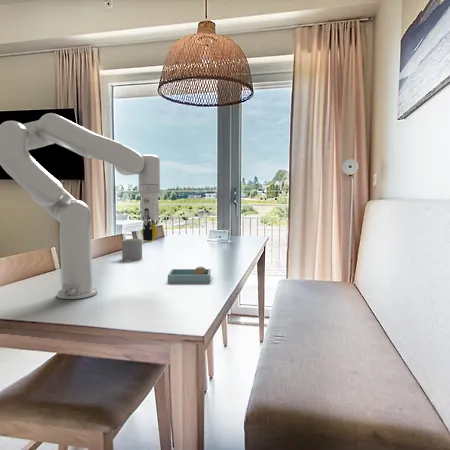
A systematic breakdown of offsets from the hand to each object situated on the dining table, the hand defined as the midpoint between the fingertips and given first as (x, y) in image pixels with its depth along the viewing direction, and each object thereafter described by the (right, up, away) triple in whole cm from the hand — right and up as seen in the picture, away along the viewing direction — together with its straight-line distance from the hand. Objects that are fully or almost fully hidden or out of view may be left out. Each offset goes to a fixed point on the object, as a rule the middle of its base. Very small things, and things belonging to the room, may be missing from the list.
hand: (149, 238), depth 135 cm
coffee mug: (-20, -13, +57) cm, 62 cm away
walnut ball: (+18, -16, +8) cm, 25 cm away
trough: (+14, -17, +8) cm, 23 cm away
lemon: (0, -2, 0) cm, 2 cm away
